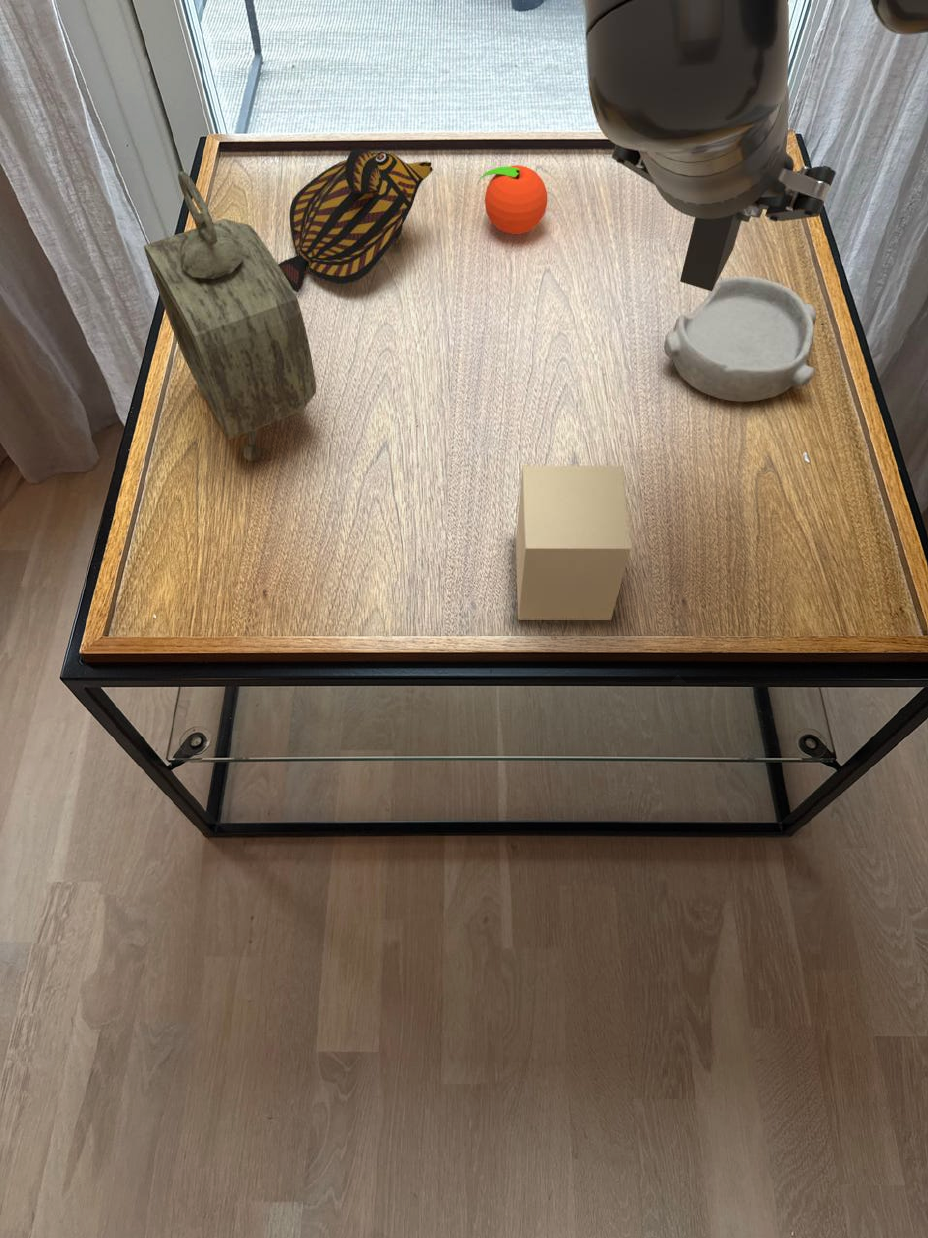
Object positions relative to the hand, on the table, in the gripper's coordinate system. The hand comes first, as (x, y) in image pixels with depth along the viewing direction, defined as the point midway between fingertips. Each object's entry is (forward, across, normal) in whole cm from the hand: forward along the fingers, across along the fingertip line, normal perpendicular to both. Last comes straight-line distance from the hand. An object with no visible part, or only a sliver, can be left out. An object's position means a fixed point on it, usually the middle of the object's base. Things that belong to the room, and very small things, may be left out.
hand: (727, 198), depth 64 cm
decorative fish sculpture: (+29, +41, +10) cm, 51 cm away
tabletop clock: (+11, +37, +28) cm, 48 cm away
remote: (+1, 0, +4) cm, 4 cm away
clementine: (+37, +26, +2) cm, 46 cm away
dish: (+31, -3, +8) cm, 32 cm away
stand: (+8, +3, +31) cm, 32 cm away
